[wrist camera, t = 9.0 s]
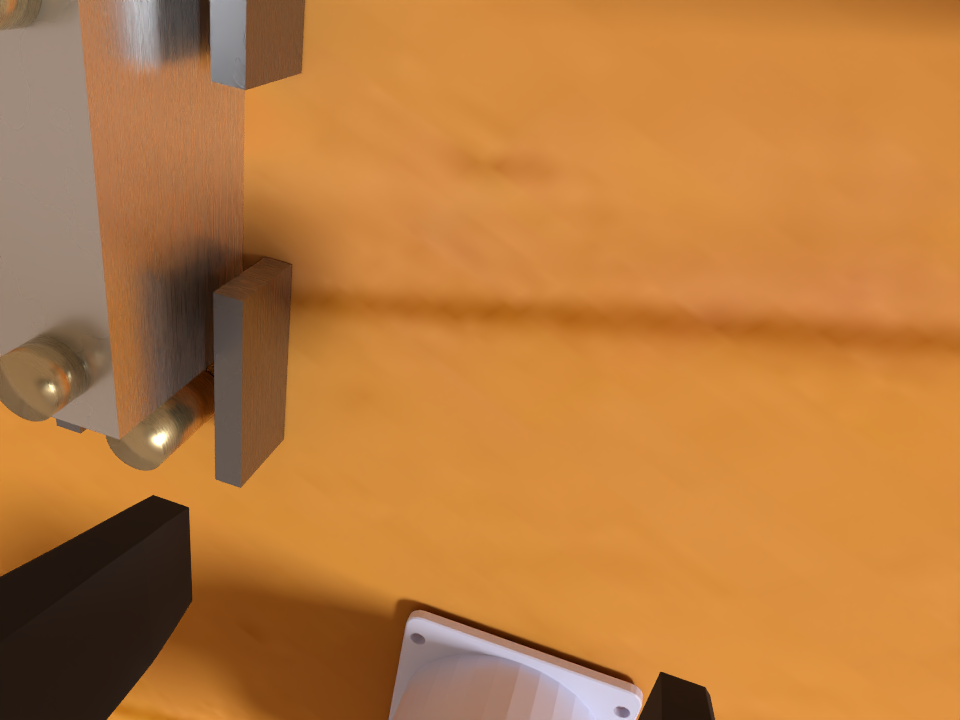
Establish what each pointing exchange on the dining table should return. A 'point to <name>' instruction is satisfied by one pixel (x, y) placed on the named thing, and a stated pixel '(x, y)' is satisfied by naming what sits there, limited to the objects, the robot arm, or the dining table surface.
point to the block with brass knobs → (112, 205)
